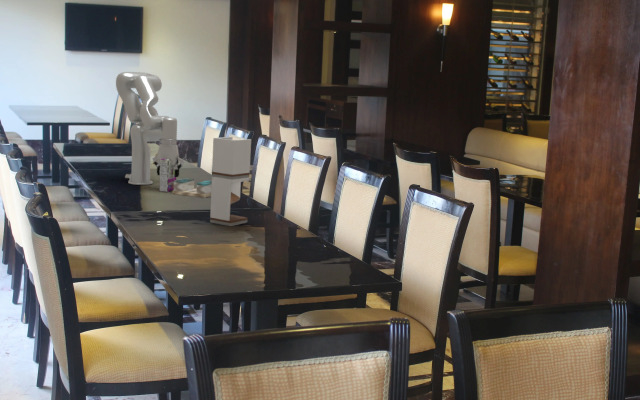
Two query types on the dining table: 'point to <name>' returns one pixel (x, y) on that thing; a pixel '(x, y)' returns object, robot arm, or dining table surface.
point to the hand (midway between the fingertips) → (167, 176)
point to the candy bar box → (166, 176)
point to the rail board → (192, 188)
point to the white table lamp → (228, 178)
